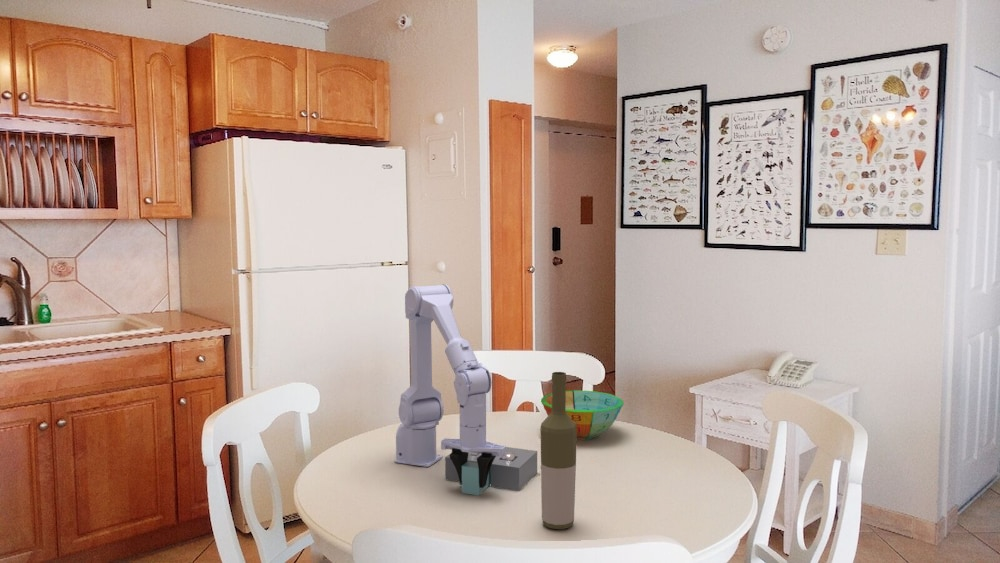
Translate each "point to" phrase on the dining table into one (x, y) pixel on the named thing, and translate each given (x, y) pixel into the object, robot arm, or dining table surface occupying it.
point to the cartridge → (472, 479)
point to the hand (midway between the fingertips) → (473, 484)
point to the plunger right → (509, 456)
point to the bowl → (589, 411)
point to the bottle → (558, 460)
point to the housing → (503, 469)
